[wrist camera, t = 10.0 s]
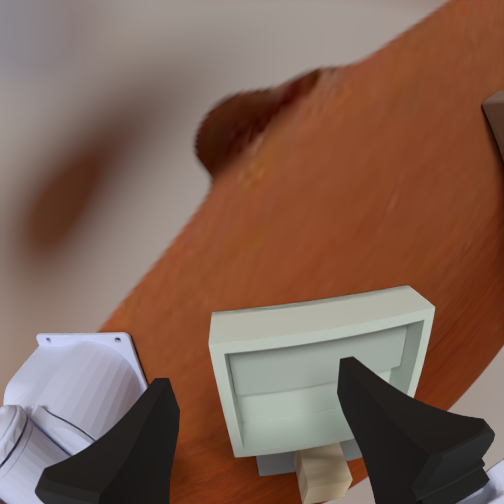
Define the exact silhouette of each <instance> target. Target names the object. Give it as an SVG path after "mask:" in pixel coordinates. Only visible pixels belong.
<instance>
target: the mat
mask: <svg viewBox="0 0 504 504" xmlns="http://www.w3.org/2000/svg"><path fill="white" fill-rule="evenodd" d="M339 443H340V446H341V449H342V451H343V454H344V457H345V460H346V461H350V460H353V459H357V458H361V457H362V454H361V451H360V449H359V446H358V444H357V442H356V440H355V438H354V439H350V440H346V441H341V442H339ZM294 456H295V451H289V452H283V453H275V454H267V455H258V456H256V460H257V465H258V471H259V476H268V475H276V474H283V473H290V472H296V470H295V465H294Z"/></svg>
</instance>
